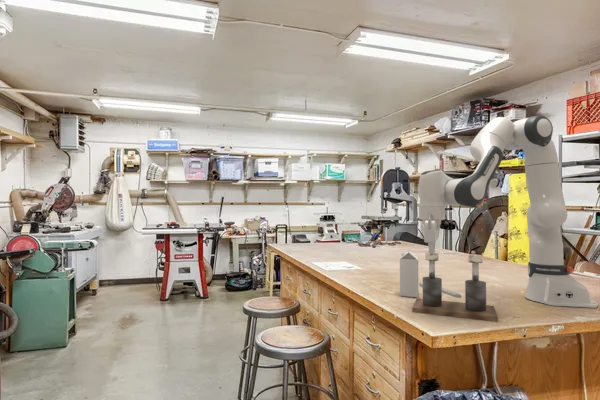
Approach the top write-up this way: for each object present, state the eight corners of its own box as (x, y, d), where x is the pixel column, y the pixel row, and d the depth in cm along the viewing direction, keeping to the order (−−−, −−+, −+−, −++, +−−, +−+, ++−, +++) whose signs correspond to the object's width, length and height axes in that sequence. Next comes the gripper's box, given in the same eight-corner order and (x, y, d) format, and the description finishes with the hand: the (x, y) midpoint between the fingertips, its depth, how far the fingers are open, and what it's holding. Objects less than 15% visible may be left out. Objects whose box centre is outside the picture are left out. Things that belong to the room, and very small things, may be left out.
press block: (493, 310, 127) (493, 279, 127) (497, 321, 114) (497, 287, 114) (416, 302, 138) (416, 273, 138) (412, 311, 125) (412, 280, 125)
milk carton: (418, 293, 150) (418, 248, 151) (418, 297, 144) (418, 250, 144) (400, 292, 153) (400, 247, 153) (399, 296, 146) (399, 249, 146)
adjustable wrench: (462, 298, 144) (462, 294, 144) (448, 299, 143) (448, 295, 143) (429, 284, 169) (429, 281, 169) (416, 285, 168) (416, 281, 168)
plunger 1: (438, 277, 130) (438, 252, 130) (438, 279, 126) (438, 254, 126) (426, 276, 132) (425, 252, 132) (425, 278, 128) (424, 253, 128)
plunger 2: (482, 280, 124) (482, 254, 124) (483, 282, 120) (482, 256, 120) (468, 279, 126) (468, 254, 126) (468, 281, 122) (468, 255, 122)
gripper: (439, 215, 118) (439, 257, 118) (442, 214, 137) (442, 250, 137) (419, 215, 121) (419, 256, 121) (424, 213, 140) (425, 249, 139)
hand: (431, 253), depth 129 cm, fingers closed, pressing on plunger 1
